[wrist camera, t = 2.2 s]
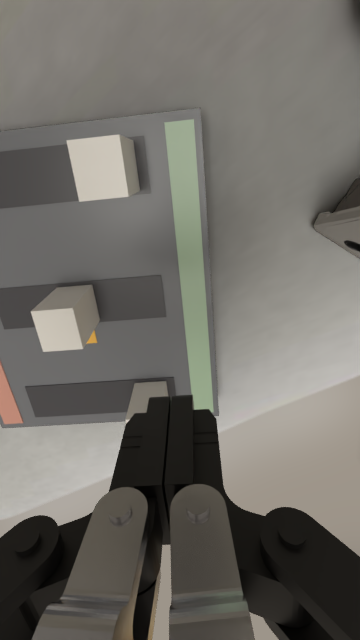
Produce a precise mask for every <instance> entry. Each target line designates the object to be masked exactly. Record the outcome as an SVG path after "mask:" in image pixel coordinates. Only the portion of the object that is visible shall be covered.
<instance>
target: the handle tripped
mask: <svg viewBox="0 0 360 640" xmlns="http://www.w3.org/2000/svg"><path fill="white" fill-rule="evenodd" d="M31 314H32V318H33V321H34V324H35V327H36V331H37V334H38V337H39V340H40V343H41V347H42V350H43V352H50V351H64V350H78V349H83V348H84V347H85V345H86V343H87V342H88V340H89V338H90V336H91V335H92V333H93V331H94V329H95V328H96V326H97V324H98V323H99V321H100V318H99V314H98V309H97V304H96V300H95V295H94V291H93V286H92V285H80V286H69V287H57V288H56V289H55V290H54V291H52V292H51V293H50V294H49V295H48V296H47V297H46V298H45V299H44V300H43V301H41V302H40V303H39V304H38V305H37V306H36V307H35V308H34V309H33V310H32V311H31Z"/></svg>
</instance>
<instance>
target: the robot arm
mask: <svg viewBox="0 0 360 640" xmlns="http://www.w3.org/2000/svg"><path fill="white" fill-rule="evenodd" d="M166 544H167V545H168V544H171V586H172V587H171V589H172V602H171V606H170V612H169V640H255V638H254V633H253V628H252V623H251V618H250V613H249V612H251V613H253V614H256V615H258V616H261V617H263V618H264V620H265V622H266V623H267V625H268V626H269V628H270V629H271V630H272V631H273V633H274V634H275V635H276V636H277V637H278V639H279V640H360V557H359V556H358V555H357V554H356V553H355V552H353V551H352V550H351V549H349V548H348V547H347V546H346V545H345V544H343V543H342V542H341V541H340V540H339V539H337V538H336V537H335V536H334V535H332V534H331V533H330V532H329V531H328V530H326V529H325V528H324V527H323V526H321V525H320V524H319V523H318V522H316V521H315V520H314V519H313V518H312V517H310V516H309V515H307V514H306V513H304V512H302V511H300V510H297V509H295V508H290V507H281V508H277V509H274V510H272V511H270V512H269V513H268V514H267V515H266V516H262V515H259V514H255V513H252V512H248V511H245V510H243V509H241V508H240V507H238V506H237V505H235V504H234V503H233V502H232V501H231V500H230V499H229V497H228V496H227V494H226V493H225V490H224V487H223V479H222V470H221V461H220V451H219V441H218V432H217V422H216V418H215V417H214V415H213V414H212V413H211V411H210V410H209V409H198V410H194V401H193V395H178V396H172V398H171V396H163V397H150V398H149V401H148V406H147V412H146V413H135V414H134V415H133V416H132V417H131V419H130V420H129V421H128V422H127V424H126V426H125V430H124V434H123V439H122V442H121V446H120V450H119V454H118V458H117V462H116V466H115V470H114V474H113V478H112V482H111V486H110V490H109V492H108V493H107V494H106V495H104V496H103V497H102V498H101V499H100V500H99V502H98V503H97V504H96V506H95V509H94V510H93V512H92V513H90V514H89V515H87V516H85V517H83V518H80V519H78V520H75V521H72V522H69V523H66V524H63V525H61V526H58V525H57V523H56V522H55V521H54V520H53V519H52V518H50V517H48V516H41V515H39V516H34V517H30V518H28V519H26V520H23V521H22V522H20V523H18V524H17V525H16V526H14V527H13V528H12V529H11V530H10V531H8V532H7V533H6V534H5V535H3V536H2V537H1V538H0V640H152V636H153V629H154V622H155V614H156V608H157V601H158V593H159V586H160V578H161V571H160V566H161V554H162V545H166Z"/></svg>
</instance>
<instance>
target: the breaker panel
mask: <svg viewBox="0 0 360 640" xmlns="http://www.w3.org/2000/svg"><path fill="white" fill-rule="evenodd" d="M118 134H120V135H122V136H124V137H126V138H128V139H131V140H133V143H134V150H135V157H136V164H137V172H138V179H139V186H140V191H139V192H137V193H135V194H133V195H131V196H129V197H122V198H112V199H102V200H92V201H82V202H79V198H78V193H77V189H76V184H75V179H74V174H73V170H72V165H71V160H70V155H69V151H68V146H67V141H66V140H74V139H83V138H92V137H101V136H109V135H118ZM80 285H92V286H93V291H94V295H95V300H96V304H97V309H98V314H99V318H100V321H99V323H98V324H97V326H96V328H95V329H94V331H93V333H92V335H91V336H90V338H89V340H88V342H87V343H86V345H85V347H84V348H83V349H78V350H64V351H50V352H43V350H42V347H41V343H40V340H39V337H38V334H37V331H36V327H35V324H34V321H33V318H32V314H31V311H32V310H33V309H34V308H35V307H36V306H37V305H38V304H39V303H40V302H41V301H43V300H44V299H45V298H46V297H47V296H48V295H49V294H50V293H51V292H52V291H54V290H55V289H56V288H57V287H69V286H80ZM159 381H166V383H167V391H168V396H171V398H172V396H178V395H193V401H194V410H198V409H209V410H210V411H211V413H212V414H213V415H214V416H219V408H218V391H217V374H216V358H215V341H214V324H213V307H212V291H211V274H210V257H209V241H208V224H207V207H206V190H205V174H204V157H203V140H202V124H201V108H193V109H185V110H176V111H168V112H159V113H151V114H142V115H134V116H125V117H117V118H108V119H100V120H91V121H83V122H74V123H65V124H57V125H48V126H40V127H31V128H23V129H14V130H6V131H0V424H1V426H2V428H16V427H33V426H51V425H68V424H86V423H103V422H121V421H126V420H125V419H126V415H127V411H128V407H129V404H130V400H131V396H132V392H133V388H134V384H135V383H143V382H159Z"/></svg>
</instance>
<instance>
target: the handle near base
mask: <svg viewBox="0 0 360 640" xmlns="http://www.w3.org/2000/svg"><path fill="white" fill-rule="evenodd" d="M66 141H67V146H68V151H69V155H70V160H71V165H72V170H73V174H74V179H75V184H76V189H77V193H78V198H79V202H82V201H92V200H102V199H112V198H122V197H129V196H131V195H133V194H135V193H137V192H139V191H140V186H139V179H138V172H137V164H136V157H135V150H134V143H133V140H131V139H128V138H126V137H124V136H122V135H120V134H118V135H109V136H101V137H92V138H83V139H74V140H66Z"/></svg>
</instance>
